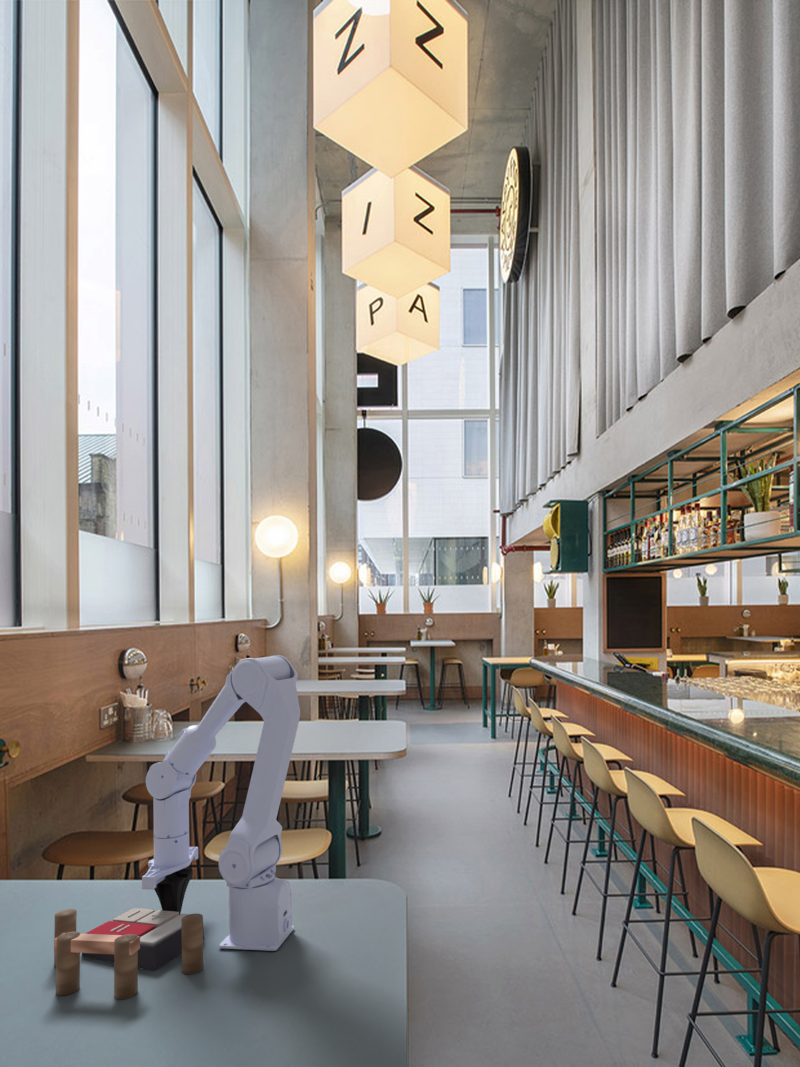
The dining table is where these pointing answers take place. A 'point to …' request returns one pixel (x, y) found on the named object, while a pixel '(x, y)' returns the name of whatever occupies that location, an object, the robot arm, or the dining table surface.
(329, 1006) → the dining table surface
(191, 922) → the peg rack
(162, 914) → the calculator
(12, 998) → the dining table surface
